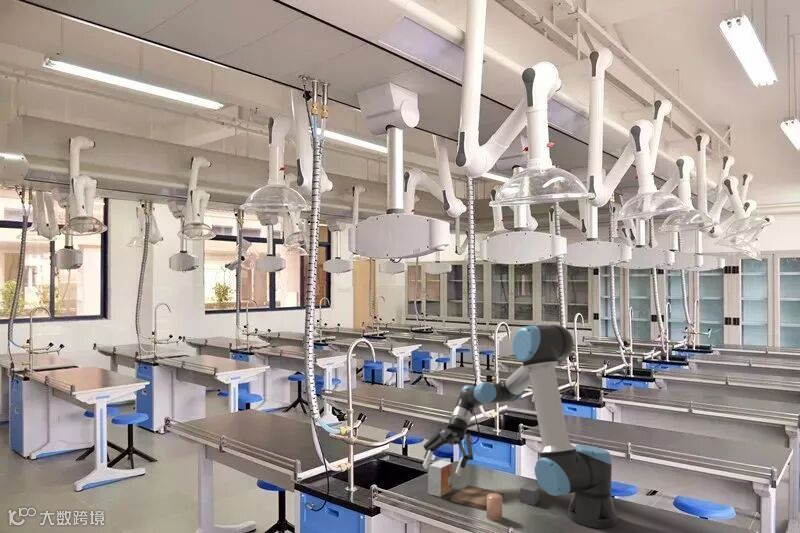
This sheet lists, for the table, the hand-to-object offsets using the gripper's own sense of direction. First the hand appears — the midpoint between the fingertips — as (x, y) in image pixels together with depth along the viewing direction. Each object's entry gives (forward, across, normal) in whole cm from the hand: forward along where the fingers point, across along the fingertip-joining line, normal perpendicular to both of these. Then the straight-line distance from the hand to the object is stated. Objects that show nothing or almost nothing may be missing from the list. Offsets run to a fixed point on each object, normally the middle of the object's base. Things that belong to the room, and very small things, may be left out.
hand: (440, 471), depth 207 cm
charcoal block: (-2, -31, -12) cm, 33 cm away
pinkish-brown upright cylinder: (+12, -26, +2) cm, 29 cm away
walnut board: (+5, -15, -5) cm, 16 cm away
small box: (+6, -1, -4) cm, 8 cm away
